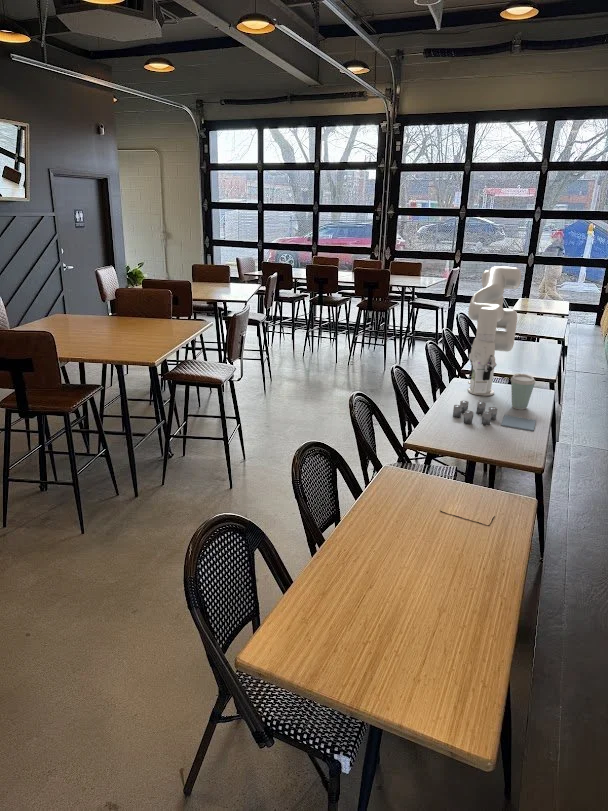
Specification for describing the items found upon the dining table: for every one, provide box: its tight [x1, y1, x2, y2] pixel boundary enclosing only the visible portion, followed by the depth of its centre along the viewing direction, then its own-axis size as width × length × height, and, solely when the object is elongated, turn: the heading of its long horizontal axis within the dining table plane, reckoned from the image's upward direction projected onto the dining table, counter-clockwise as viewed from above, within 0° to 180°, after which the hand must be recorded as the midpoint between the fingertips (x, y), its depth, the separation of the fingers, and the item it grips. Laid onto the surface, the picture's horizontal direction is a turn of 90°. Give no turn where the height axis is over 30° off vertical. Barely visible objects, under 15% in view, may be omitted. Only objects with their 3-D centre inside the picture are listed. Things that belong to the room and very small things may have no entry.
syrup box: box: [470, 360, 490, 393], centre depth 233 cm, size 6×6×14 cm
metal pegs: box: [452, 400, 499, 426], centre depth 239 cm, size 19×17×5 cm
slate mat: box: [500, 414, 537, 432], centre depth 234 cm, size 13×13×1 cm
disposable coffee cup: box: [510, 373, 536, 410], centre depth 251 cm, size 11×11×15 cm
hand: (479, 376), depth 234 cm, fingers closed on syrup box, 7 cm apart
